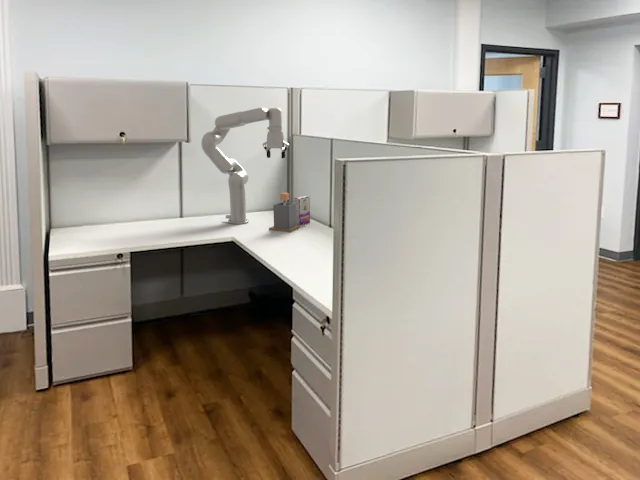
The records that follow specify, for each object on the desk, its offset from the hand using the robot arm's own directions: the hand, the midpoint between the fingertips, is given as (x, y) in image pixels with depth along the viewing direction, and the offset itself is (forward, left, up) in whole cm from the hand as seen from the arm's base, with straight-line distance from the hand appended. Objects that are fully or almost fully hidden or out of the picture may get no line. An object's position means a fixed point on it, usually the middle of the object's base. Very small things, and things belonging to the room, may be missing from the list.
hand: (275, 157), depth 362 cm
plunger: (+12, -14, -38) cm, 43 cm away
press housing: (+12, -14, -40) cm, 44 cm away
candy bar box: (+14, +6, -40) cm, 43 cm away
